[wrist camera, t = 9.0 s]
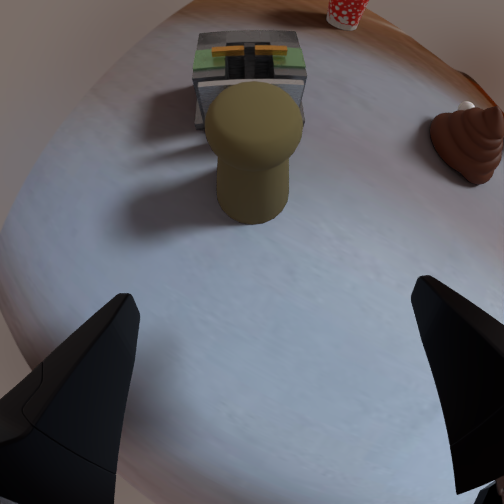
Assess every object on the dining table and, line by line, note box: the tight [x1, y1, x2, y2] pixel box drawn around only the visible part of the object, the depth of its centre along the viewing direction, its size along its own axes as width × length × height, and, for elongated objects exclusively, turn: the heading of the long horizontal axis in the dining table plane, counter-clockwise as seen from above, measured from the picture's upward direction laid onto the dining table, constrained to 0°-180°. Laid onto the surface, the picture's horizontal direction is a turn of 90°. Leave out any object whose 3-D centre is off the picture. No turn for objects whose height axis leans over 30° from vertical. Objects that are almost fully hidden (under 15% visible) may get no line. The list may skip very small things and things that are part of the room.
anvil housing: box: [192, 30, 307, 130], centre depth 21 cm, size 6×10×7 cm, turn 92°
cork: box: [205, 81, 303, 225], centre depth 17 cm, size 6×6×11 cm
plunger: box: [198, 43, 304, 117], centre depth 20 cm, size 4×7×8 cm, turn 92°
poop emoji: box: [430, 101, 504, 184], centre depth 20 cm, size 10×8×9 cm
